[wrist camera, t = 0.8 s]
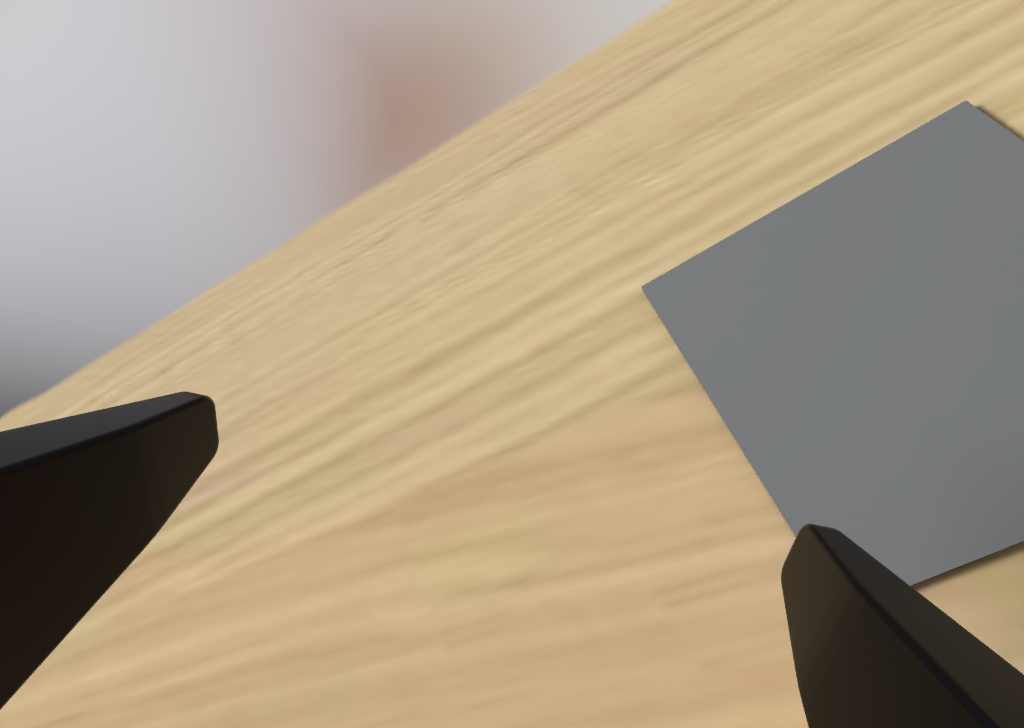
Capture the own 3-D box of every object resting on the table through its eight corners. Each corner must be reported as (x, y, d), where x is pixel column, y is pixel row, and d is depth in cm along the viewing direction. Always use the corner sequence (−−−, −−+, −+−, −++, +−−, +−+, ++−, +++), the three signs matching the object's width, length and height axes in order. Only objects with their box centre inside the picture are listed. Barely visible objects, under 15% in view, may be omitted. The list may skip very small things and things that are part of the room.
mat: (1371, 403, 12) (1387, 397, 12) (842, 611, 15) (843, 611, 14) (962, 109, 18) (966, 100, 18) (643, 291, 21) (641, 286, 21)
